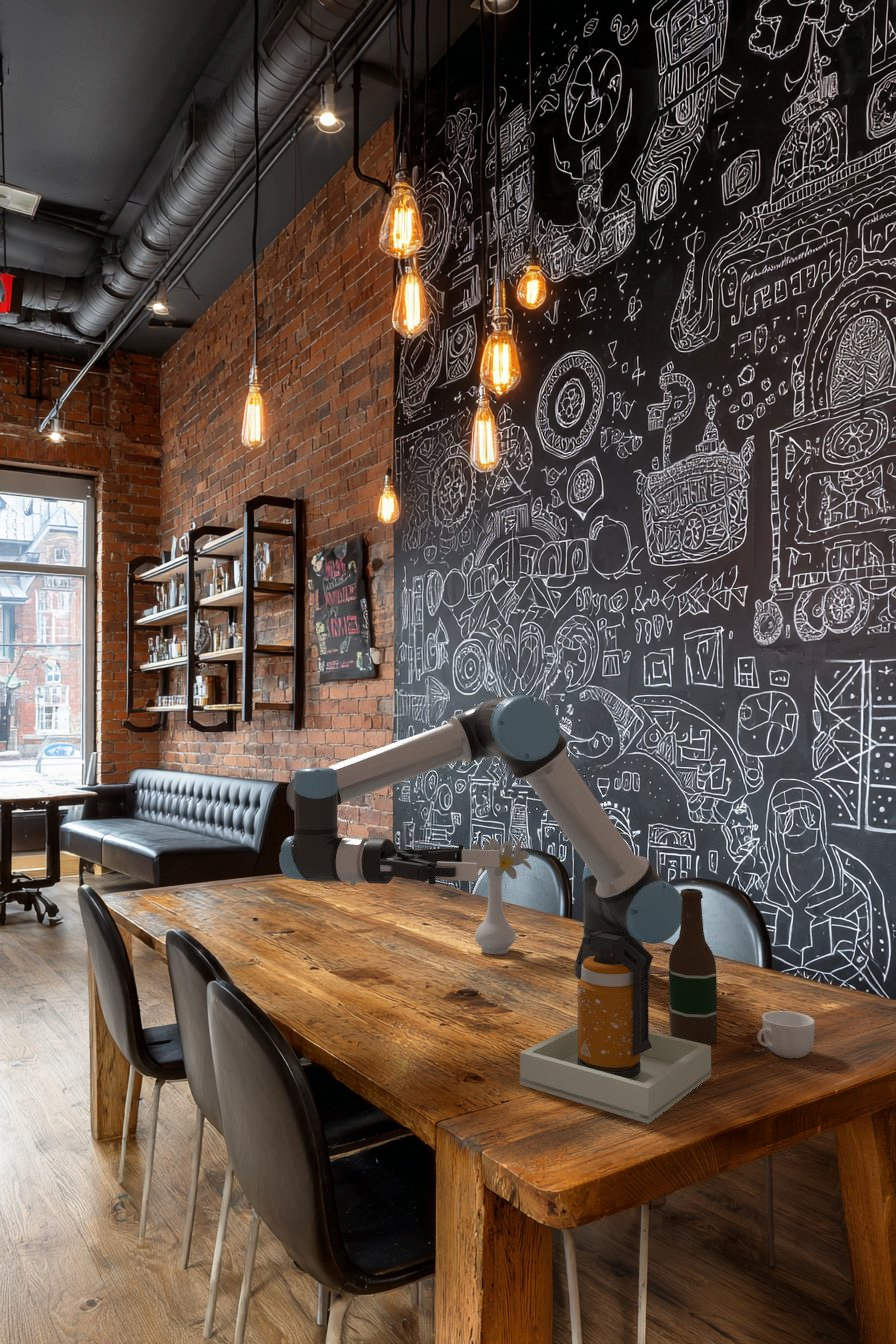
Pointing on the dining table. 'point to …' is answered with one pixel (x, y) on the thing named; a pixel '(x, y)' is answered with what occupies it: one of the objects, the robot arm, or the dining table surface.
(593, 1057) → the canister
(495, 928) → the flower vase
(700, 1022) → the beer bottle
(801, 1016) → the teacup
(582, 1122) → the dining table surface
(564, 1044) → the tray
